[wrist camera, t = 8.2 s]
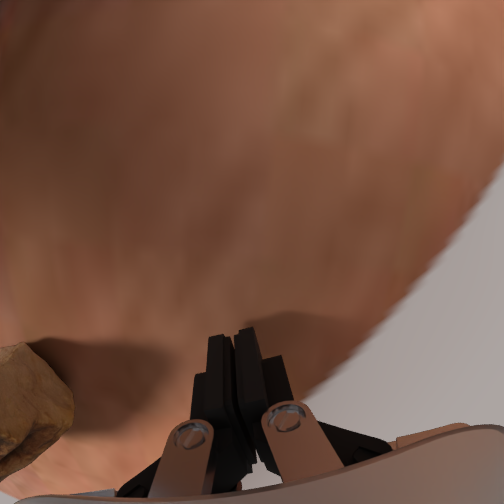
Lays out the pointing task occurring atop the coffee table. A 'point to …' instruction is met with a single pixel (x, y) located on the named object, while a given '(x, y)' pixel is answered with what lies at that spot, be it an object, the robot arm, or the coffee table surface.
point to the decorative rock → (29, 408)
